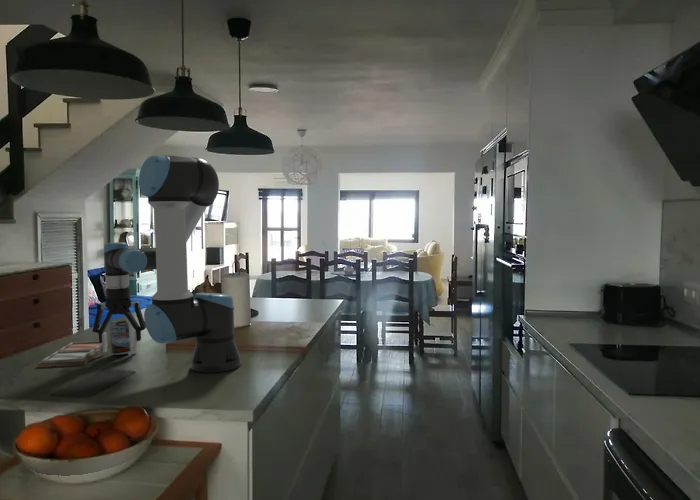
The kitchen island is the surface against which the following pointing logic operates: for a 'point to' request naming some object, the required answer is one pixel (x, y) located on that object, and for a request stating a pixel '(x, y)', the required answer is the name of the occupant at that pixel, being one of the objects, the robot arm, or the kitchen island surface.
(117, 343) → the beverage can
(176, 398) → the kitchen island surface
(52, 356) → the framed panel board
